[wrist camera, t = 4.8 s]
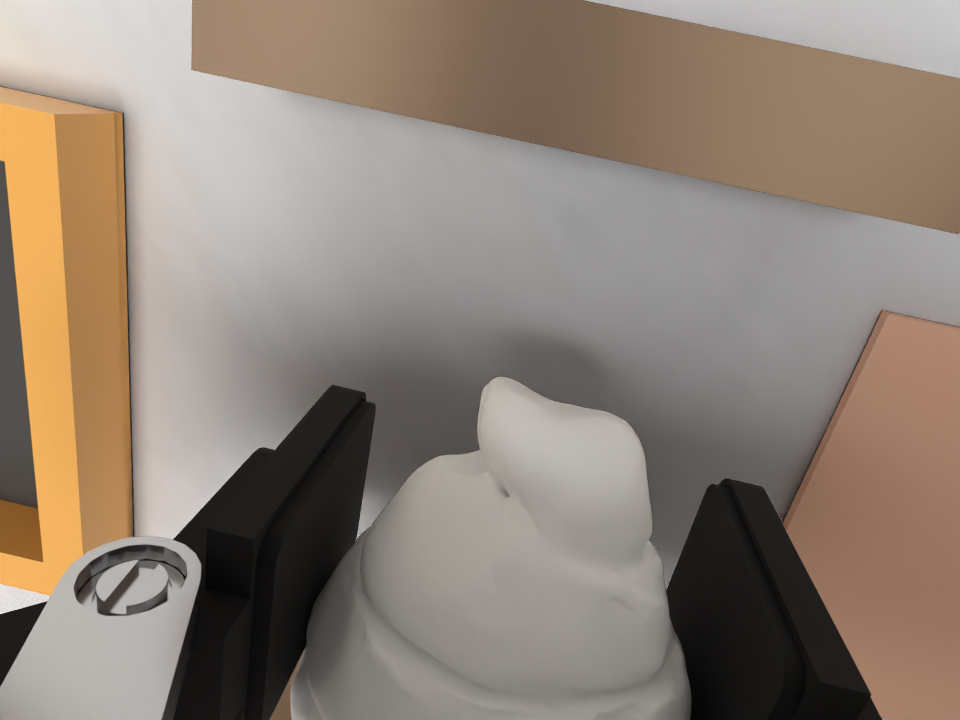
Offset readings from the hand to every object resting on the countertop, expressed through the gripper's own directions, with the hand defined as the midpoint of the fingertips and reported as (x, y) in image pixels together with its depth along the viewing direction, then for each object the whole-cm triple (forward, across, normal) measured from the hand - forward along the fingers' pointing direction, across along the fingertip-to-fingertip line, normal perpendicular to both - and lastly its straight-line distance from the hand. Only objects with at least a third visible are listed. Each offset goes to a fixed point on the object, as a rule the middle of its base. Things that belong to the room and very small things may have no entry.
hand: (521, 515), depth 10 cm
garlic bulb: (+1, 0, 0) cm, 1 cm away
